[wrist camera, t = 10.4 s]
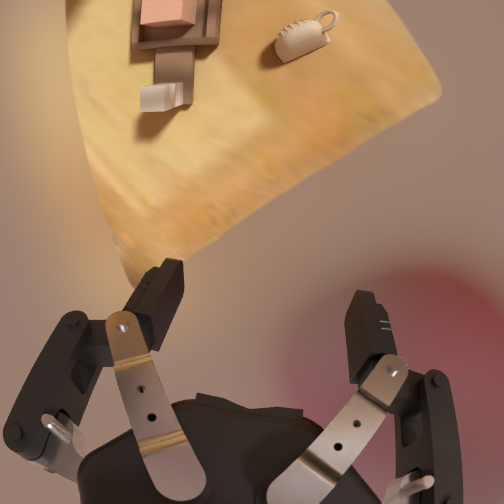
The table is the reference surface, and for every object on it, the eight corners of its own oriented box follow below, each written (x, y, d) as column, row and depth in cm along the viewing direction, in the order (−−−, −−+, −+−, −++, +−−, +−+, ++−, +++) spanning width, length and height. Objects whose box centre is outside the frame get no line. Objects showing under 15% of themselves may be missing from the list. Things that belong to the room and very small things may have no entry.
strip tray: (145, -18, 23) (118, -28, 18) (225, -27, 23) (210, -45, 17) (139, 104, 34) (111, 113, 29) (215, 103, 34) (198, 111, 28)
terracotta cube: (160, -5, 24) (143, -12, 20) (197, -9, 24) (184, -18, 20) (158, 27, 27) (140, 24, 23) (194, 24, 27) (180, 19, 23)
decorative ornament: (266, 37, 28) (262, 32, 24) (326, 12, 25) (332, 4, 21) (282, 63, 30) (280, 62, 26) (342, 39, 27) (350, 34, 23)
